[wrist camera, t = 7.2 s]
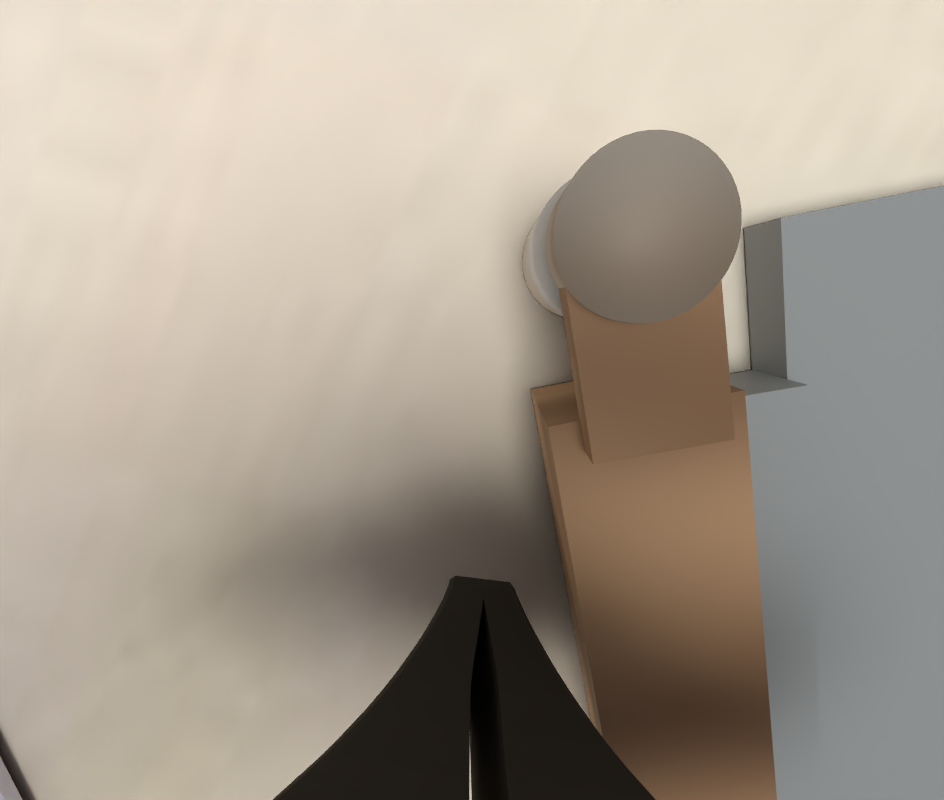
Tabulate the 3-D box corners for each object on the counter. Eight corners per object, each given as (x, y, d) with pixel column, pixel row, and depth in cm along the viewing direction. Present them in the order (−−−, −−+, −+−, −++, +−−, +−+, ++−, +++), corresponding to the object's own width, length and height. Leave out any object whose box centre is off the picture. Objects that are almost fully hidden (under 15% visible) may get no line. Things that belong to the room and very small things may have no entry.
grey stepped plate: (584, 834, 13) (605, 952, 11) (475, 220, 9) (471, 194, 7) (928, 799, 12) (1032, 918, 10) (952, 121, 9) (1123, 55, 6)
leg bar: (499, 220, 9) (507, 162, 5) (647, 187, 9) (770, 100, 5) (603, 791, 12) (657, 1018, 8) (715, 778, 12) (822, 1007, 8)
